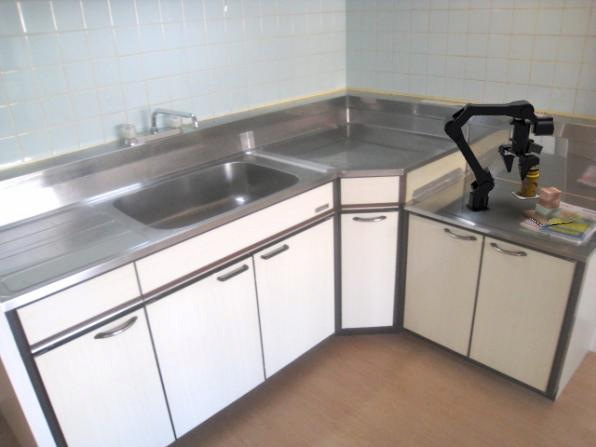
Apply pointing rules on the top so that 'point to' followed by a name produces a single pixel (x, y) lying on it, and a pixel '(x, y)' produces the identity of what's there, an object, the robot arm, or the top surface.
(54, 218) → the top surface
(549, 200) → the top block
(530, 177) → the condiment
